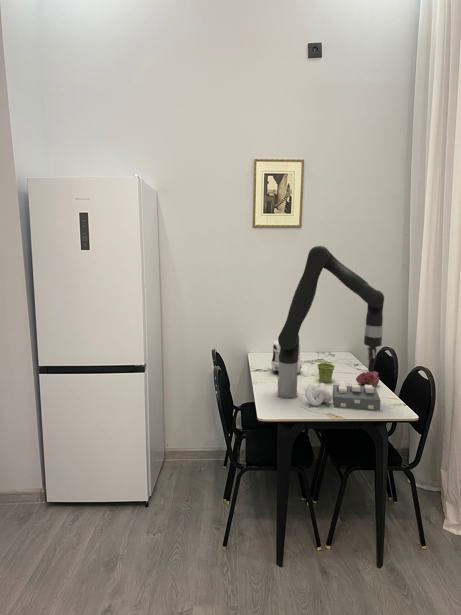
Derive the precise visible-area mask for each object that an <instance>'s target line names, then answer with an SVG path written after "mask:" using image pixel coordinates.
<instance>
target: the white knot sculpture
mask: <svg viewBox="0 0 461 615" xmlns="http://www.w3.org/2000/svg"><path fill="white" fill-rule="evenodd" d="M304 393H305V398H306V400H307V401H308V403H309V404H310V405H311V406H313V407H319V406H320V405H322V404H329V403H330V402H331V401H332V394H331V393H330V391H329V390H328V389H327V386H326V384H325V383H324V382H319V383H318V384H314V383H310V384H308V385H306V387H305V392H304Z"/></svg>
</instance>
